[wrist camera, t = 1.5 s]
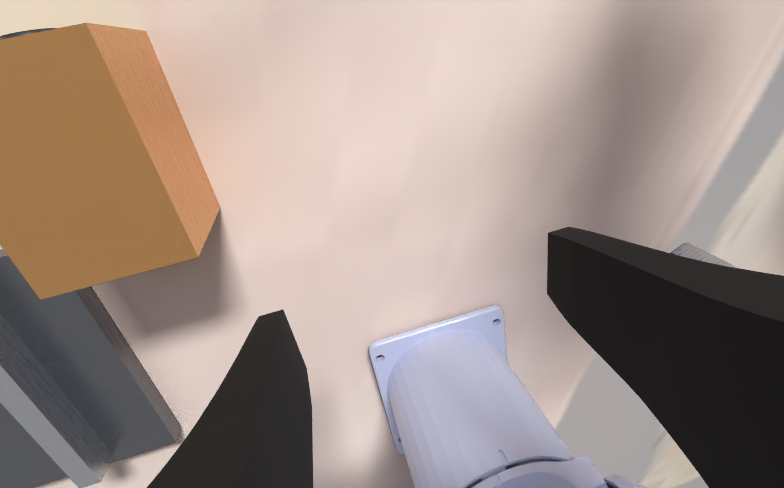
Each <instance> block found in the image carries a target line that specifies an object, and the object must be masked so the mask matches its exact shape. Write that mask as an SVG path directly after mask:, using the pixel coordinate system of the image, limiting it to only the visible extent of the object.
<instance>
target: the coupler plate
mask: <svg viewBox="0 0 784 488" xmlns="http://www.w3.org/2000/svg"><path fill="white" fill-rule="evenodd" d="M180 429H181V426H180V424H179V423H178V421H177V420H176V418H175V416H174V415H173V413H172V412H171V410H170V409H169V407H168V406H167V404H166V403H165V401H164V399H163V398H162V396H161V395H160V393H159V392H158V390H157V389H156V387H155V385H154V384H153V382H152V381H151V379H150V378H149V376H148V375H147V373H146V372H145V370H144V368H143V367H142V365H141V364H140V362H139V361H138V359H137V358H136V356H135V354H134V353H133V351H132V350H131V348H130V347H129V345H128V344H127V342H126V341H125V339H124V337H123V336H122V334H121V333H120V331H119V330H118V328H117V327H116V325H115V323H114V322H113V320H112V319H111V317H110V316H109V314H108V313H107V311H106V310H105V308H104V306H103V305H102V303H101V302H100V300H99V299H98V297H97V296H96V294H95V292H94V291H93V289H92V288H91V286H90V287H86V288H82V289H78V290H75V291H71V292H67V293H64V294H60V295H56V296H52V297H49V298H45V299H41V300H40V299H39V297H38V296H37V294H36V293H35V292H34V290H33V289H32V288H31V286H30V285H29V283H28V282H27V281H26V279H25V278H24V277H23V275H22V274H21V273H20V271H19V270H18V268H17V267H16V266H15V264H14V263H13V262H12V260H11V259H10V257H9V256H8V255H7V253H6V252H5V251H4V249H3V250H0V488H32V487H35V486H39V485H42V484H45V483H48V482H51V481H55V480H58V479H61V478H64V477H67V476H68V477H69V478H70V479H71V480H72V481H73V482H74V483H75V484H76V485H77V486H78V488H83V487H87V486H90V485H93V484H96V483H99V482H101V481H102V479H103V477H104V474H105V472H106V470H107V467H108V465H109V463H112V462H115V461H118V460H121V459H125V458H128V457H131V456H134V455H137V454H140V453H144V452H147V451H150V450H153V449H156V448H159V447H163V446H166V445H169V444H172V443H175V442H177V439H178V436H179V432H180Z"/></svg>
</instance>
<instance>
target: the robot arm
mask: <svg viewBox="0 0 784 488" xmlns="http://www.w3.org/2000/svg"><path fill="white" fill-rule="evenodd" d="M547 294H548V295H549V297H550V298H551V300H552V301H553V303H554V304H555V305H556V307H557V308H558V310H559V311H560V312H561V314H562V315H563V316H564V318H565V319H566V320H567V322H568V323H569V324H570V325H571V326H572V327H573V328H574V329H575V330H576V331H577V332H578V333H579V335H580V336H581V337H582V338H583V339H584V340H585V341H586V342H587V343H588V344H589V345H590V346H591V347H592V348H593V349H594V350H595V351H596V352H597V353H598V354H599V355H600V356H601V357H602V358H603V359H604V360H605V361H606V362H607V363H608V364H609V365H610V366H611V368H613V370H615V372H616V373H617V374H618V375H619V376H620V377H621V378H622V379H623V380H624V381H625V382H626V383H627V384H628V385H629V386H630V387H631V388H632V389H633V391H634V392H635V393H636V394H637V395H638V396H639V397H640V398H641V399H642V401H643V402H644V403H645V404H646V405H647V407H648V408H649V409H650V410H651V412H652V413H653V414H654V415H655V417H656V418H657V419H658V420H659V422H660V423H661V424H662V425H663V427H664V428H665V429H666V430H667V432H668V433H669V434H670V436H671V437H672V438H673V440H674V441H675V442H676V443H677V445H678V446H679V447H680V449H681V450H682V451H683V453H684V454H685V455H686V457H687V458H688V459H689V461H690V462H691V463H692V465H693V466H694V467H695V469H696V470H697V471H698V473H699V474H700V475H701V477H702V478H703V480H704V481H705V482H706V484H707V485H708V487H709V488H784V276H781V275H774V274H768V273H762V272H756V271H750V270H745V269H739V268H733V267H728V266H723V265H718V264H713V263H708V262H704V261H700V260H695V259H691V258H687V257H683V256H678V255H674V254H670V253H667V252H663V251H659V250H655V249H651V248H648V247H644V246H640V245H637V244H633V243H630V242H626V241H623V240H619V239H615V238H612V237H608V236H605V235H601V234H597V233H594V232H590V231H586V230H582V229H577V228H572V227H567V228H563V229H560V230H556V231H553V232H549V233H548V270H547ZM495 319H497V320H496V321H495V322H493V321H494V320H495ZM369 354H370V358H371V361H372V365H373V368H374V372H375V375H376V379H377V382H378V386H379V389H380V393H381V396H382V400H383V403H384V407H385V410H386V414H387V417H388V421H389V425H390V428H391V432H392V435H393V439H394V442H395V446H396V449H397V452H398V453H399V454H405V456H406V460H407V463H408V467H409V470H410V474H411V477H412V481H413V484H414V488H646V487H644V486H642V485H640V484H638V483H635V482H633V481H631V480H630V479H628V478H627V477H624V476H622V475H620V474H612V475H610V476H608V477H606V478H604V479H603V478H602V477H601V475H600V474H599V473H598V471H597V470H596V469H595V467H594V466H593V464H592V463H591V462H590V460H589V459H588V458H587V456H581V457H578V458H576V459H575V458H574V457H573V455H572V454H571V452H570V451H569V450H568V448H567V447H566V445H565V444H564V442H563V441H562V440H561V438H560V437H559V435H558V434H557V432H556V431H555V429H554V428H553V427H552V425H551V424H550V422H549V421H548V419H547V418H546V417H545V415H544V414H543V412H542V411H541V409H540V408H539V406H538V405H537V404H536V402H535V401H534V399H533V398H532V396H531V395H530V394H529V392H528V391H527V389H526V388H525V386H524V385H523V383H522V382H521V381H520V379H519V378H518V376H517V375H516V373H515V372H514V371H513V369H512V368H511V366H510V365H509V363H508V362H507V353H506V339H505V326H504V313H503V310H502V309H501V308H500V307H499V306H497V305H493V306H490V307H486V308H483V309H480V310H476V311H473V312H470V313H466V314H463V315H460V316H457V317H453V318H450V319H447V320H443V321H440V322H437V323H433V324H430V325H427V326H424V327H420V328H417V329H414V330H410V331H407V332H404V333H401V334H397V335H394V336H391V337H387V338H384V339H381V340H377V341H375V342H373V343H371V344H370V346H369ZM378 355H382V356H381V357H379V358H377V356H378ZM147 488H313V451H312V404H311V396H310V389H309V382H308V375H307V368H306V365H305V363H304V360H303V358H302V355H301V353H300V350H299V348H298V345H297V343H296V340H295V338H294V335H293V333H292V330H291V328H290V325H289V323H288V320H287V318H286V315H285V313H284V310H280V311H276V312H273V313H269V314H266V315H262V316H259V317H258V319H257V320H256V322H255V324H254V326H253V327H252V329H251V331H250V333H249V335H248V337H247V339H246V341H245V343H244V345H243V346H242V348H241V350H240V352H239V354H238V356H237V358H236V359H235V361H234V363H233V365H232V366H231V368H230V370H229V372H228V373H227V375H226V377H225V379H224V380H223V382H222V384H221V385H220V387H219V389H218V390H217V392H216V394H215V395H214V397H213V398H212V400H211V401H210V403H209V405H208V406H207V408H206V409H205V411H204V412H203V414H202V416H201V417H200V419H199V420H198V422H197V423H196V425H195V426H194V427H193V429H192V430H191V432H190V433H189V435H188V436H187V437H186V439H185V440H184V441H183V443H182V444H181V445H180V447H179V448H178V449H177V451H176V452H175V453H174V455H173V456H172V457H171V459H170V460H169V461H168V463H167V464H166V465H165V466H164V468H163V469H162V470H161V471H160V473H159V474H158V475H157V476H156V477H155V478H154V480H153V481H152V482H151V483H150V484H149V486H148V487H147Z"/></svg>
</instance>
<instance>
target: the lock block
mask: <svg viewBox="0 0 784 488" xmlns="http://www.w3.org/2000/svg"><path fill="white" fill-rule="evenodd" d="M219 210H220V205H219V203H218V201H217V198H216V196H215V194H214V191H213V189H212V186H211V184H210V182H209V179H208V177H207V175H206V172H205V170H204V167H203V165H202V163H201V160H200V158H199V156H198V153H197V151H196V148H195V146H194V144H193V141H192V139H191V137H190V134H189V132H188V130H187V127H186V125H185V122H184V120H183V118H182V115H181V113H180V111H179V108H178V106H177V103H176V101H175V99H174V96H173V94H172V92H171V89H170V87H169V84H168V82H167V80H166V77H165V75H164V73H163V70H162V68H161V65H160V63H159V61H158V58H157V56H156V54H155V51H154V49H153V46H152V44H151V42H150V39H149V37H148V35H147V32H146V31H143V30H135V29H128V28H120V27H113V26H106V25H98V24H91V23H83V24H78V25H73V26H68V27H63V28H46V29H36V30H28V31H22V32H16V33H11V34H7V35H3V36H0V245H1V247H2V248H3V249H4V251H5V252H6V253H7V255H8V256H9V257H10V259H11V260H12V262H13V263H14V264H15V266H16V267H17V268H18V270H19V271H20V273H21V274H22V275H23V277H24V278H25V279H26V281H27V282H28V283H29V285H30V286H31V288H32V289H33V290H34V292H35V293H36V294H37V296H38V297H39V299H40V300H41V299H45V298H49V297H52V296H56V295H60V294H64V293H67V292H71V291H75V290H78V289H82V288H86V287H90V286H93V285H97V284H101V283H105V282H108V281H112V280H116V279H119V278H123V277H127V276H131V275H134V274H138V273H142V272H146V271H149V270H153V269H157V268H161V267H164V266H168V265H172V264H175V263H179V262H183V261H187V260H190V259H194V258H198V257H199V255H200V253H201V250H202V248H203V246H204V243H205V241H206V239H207V237H208V234H209V232H210V230H211V228H212V225H213V223H214V221H215V219H216V216H217V214H218V212H219Z"/></svg>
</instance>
